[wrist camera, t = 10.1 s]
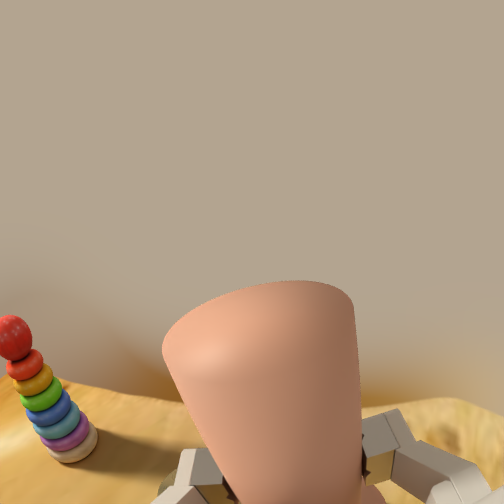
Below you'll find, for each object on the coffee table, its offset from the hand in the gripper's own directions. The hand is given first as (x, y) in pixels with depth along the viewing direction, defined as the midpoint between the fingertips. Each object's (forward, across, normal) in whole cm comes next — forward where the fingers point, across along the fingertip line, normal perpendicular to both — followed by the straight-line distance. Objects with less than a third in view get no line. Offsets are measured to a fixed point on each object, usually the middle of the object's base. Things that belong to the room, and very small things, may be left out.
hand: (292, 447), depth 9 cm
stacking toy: (+15, +29, +17) cm, 37 cm away
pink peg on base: (-1, 0, +7) cm, 7 cm away
